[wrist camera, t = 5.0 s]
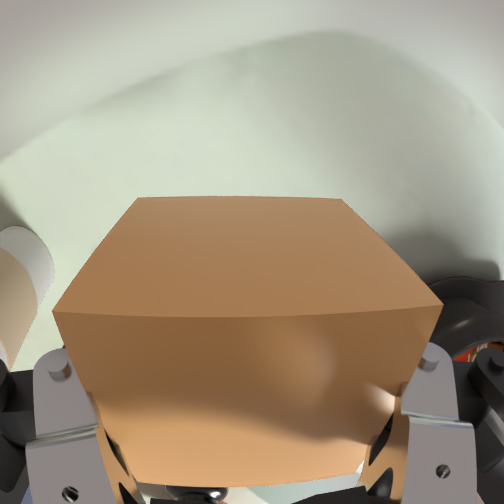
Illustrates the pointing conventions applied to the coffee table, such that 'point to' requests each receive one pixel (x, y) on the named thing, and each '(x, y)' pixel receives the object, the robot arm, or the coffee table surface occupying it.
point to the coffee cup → (21, 286)
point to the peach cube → (244, 337)
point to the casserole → (469, 316)
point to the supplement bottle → (197, 493)
